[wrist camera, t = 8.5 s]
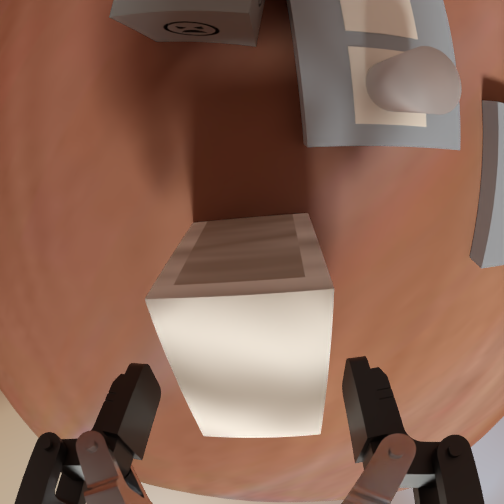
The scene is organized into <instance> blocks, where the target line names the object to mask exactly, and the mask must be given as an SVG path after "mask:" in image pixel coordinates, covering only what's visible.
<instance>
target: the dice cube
mask: <svg viewBox="0 0 504 504" xmlns="http://www.w3.org/2000/svg"><path fill="white" fill-rule="evenodd" d="M264 3H265V0H114V1H113V5H112V8H111V12H110V16H109V17H110V18H112V19H114V20H116V21H118V22H120V23H122V24H124V25H126V26H128V27H130V28H132V29H134V30H136V31H137V32H139V33H141V34H143V35H145V36H147V37H149V38H150V39H152V40H154V41H156V42H210V43H225V44H237V45H246V46H254V47H256V45H257V39H258V34H259V29H260V23H261V18H262V13H263V8H264Z"/></svg>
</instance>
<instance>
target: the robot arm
mask: <svg viewBox="0 0 504 504" xmlns="http://www.w3.org/2000/svg"><path fill="white" fill-rule="evenodd" d="M342 390H343V398H344V403H345V408H346V413H347V418H348V424H349V430H350V435H351V441H352V447H353V453H354V459H355V463H359V462H363V467H364V471H363V473H362V474H361V476H360V477H359V479H358V481H357V482H356V484H355V485H354V487H353V488H352V489H351V491H350V492H349V494H348V495H347V497H346V498H345V499H344V501H343V502H342V504H390V503H391V501H392V499H393V497H394V496H395V494H396V492H397V490H398V488H413V492H414V499H415V504H484V499H483V494H482V490H481V485H480V481H479V477H478V473H477V469H476V465H475V461H474V457H473V454H472V451H471V447H470V444H469V442H468V441H467V440H466V439H465V438H464V437H462V436H460V435H450V436H448V437H446V438H444V439H443V440H442V441H441V442H420V441H416V440H414V439H412V438H411V437H410V436H408V434H407V433H406V432H405V430H404V427H403V424H402V420H401V417H400V414H399V411H398V407H397V404H396V401H395V398H394V395H393V392H392V389H391V386H390V383H389V380H388V377H387V375H386V374H385V373H384V372H383V371H382V370H381V369H380V368H379V367H377V368H371V369H370V367H369V363H368V360H367V358H366V357H365V356H363V357H355V358H348V359H347V360H346V365H345V371H344V376H343V383H342ZM160 397H161V389H160V386H159V384H158V382H157V380H156V378H155V376H154V374H153V372H152V370H151V368H150V366H149V365H148V364H138V363H131V364H130V365H129V366H128V368H127V371H126V373H125V374H120V375H119V376H118V377H117V378H116V380H115V381H114V382H113V383H112V385H111V388H110V390H109V394H107V397H106V399H105V400H106V401H104V403H103V406H102V408H101V410H100V413H99V415H98V417H97V420H96V422H95V424H94V427H93V429H92V430H91V431H87V432H85V433H83V434H81V435H80V436H79V438H78V439H60V438H59V437H58V436H57V435H56V434H55V433H52V432H47V433H44V434H42V435H41V436H40V437H39V438H38V440H37V442H36V445H35V447H34V450H33V452H32V455H31V457H30V460H29V463H28V465H27V468H26V471H25V474H24V476H23V479H22V482H21V486H20V488H19V491H18V495H17V498H16V501H15V504H86V503H87V504H152V502H151V501H150V500H149V498H148V496H147V494H146V492H145V490H144V488H143V486H142V484H141V482H140V480H139V478H138V476H137V474H136V472H135V470H134V468H133V466H132V465H131V464H132V460H133V458H134V459H139V460H142V459H143V455H144V452H145V448H146V445H147V441H148V438H149V435H150V431H151V428H152V424H153V421H154V418H155V414H156V411H157V408H158V405H159V401H160ZM60 472H61V473H62V475H61V478H60V481H59V484H58V488H57V491H56V494H55V488H56V485H57V481H58V478H59V475H60Z"/></svg>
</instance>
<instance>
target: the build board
mask: <svg viewBox="0 0 504 504" xmlns="http://www.w3.org/2000/svg"><path fill="white" fill-rule="evenodd" d="M482 109H483V159H482V176H481V187H480V197H479V205H478V213H477V220H476V226H475V232H474V237H473V243H472V248H471V253H470V258H471V259H472V260H473V261H474V262H475V263H476V264H477V265H478V266H479V267H480V268H487V267H494V266H500V265H504V103H501V102H497V101H484V100H482Z"/></svg>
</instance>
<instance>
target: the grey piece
mask: <svg viewBox="0 0 504 504" xmlns="http://www.w3.org/2000/svg"><path fill="white" fill-rule="evenodd" d="M286 1H287V7H288V13H289V19H290V26H291V33H292V40H293V47H294V54H295V62H296V71H297V79H298V88H299V97H300V107H301V118H302V129H303V141H304V145H305V146H307V147H327V146H404V147H425V148H441V149H453V150H460V106H459V100H460V97H461V80H460V76H459V73H458V71H457V69H456V63H455V56H454V50H453V44H452V38H451V33H450V28H449V23H448V19H447V14H446V10H445V6H444V2H443V0H286Z"/></svg>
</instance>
